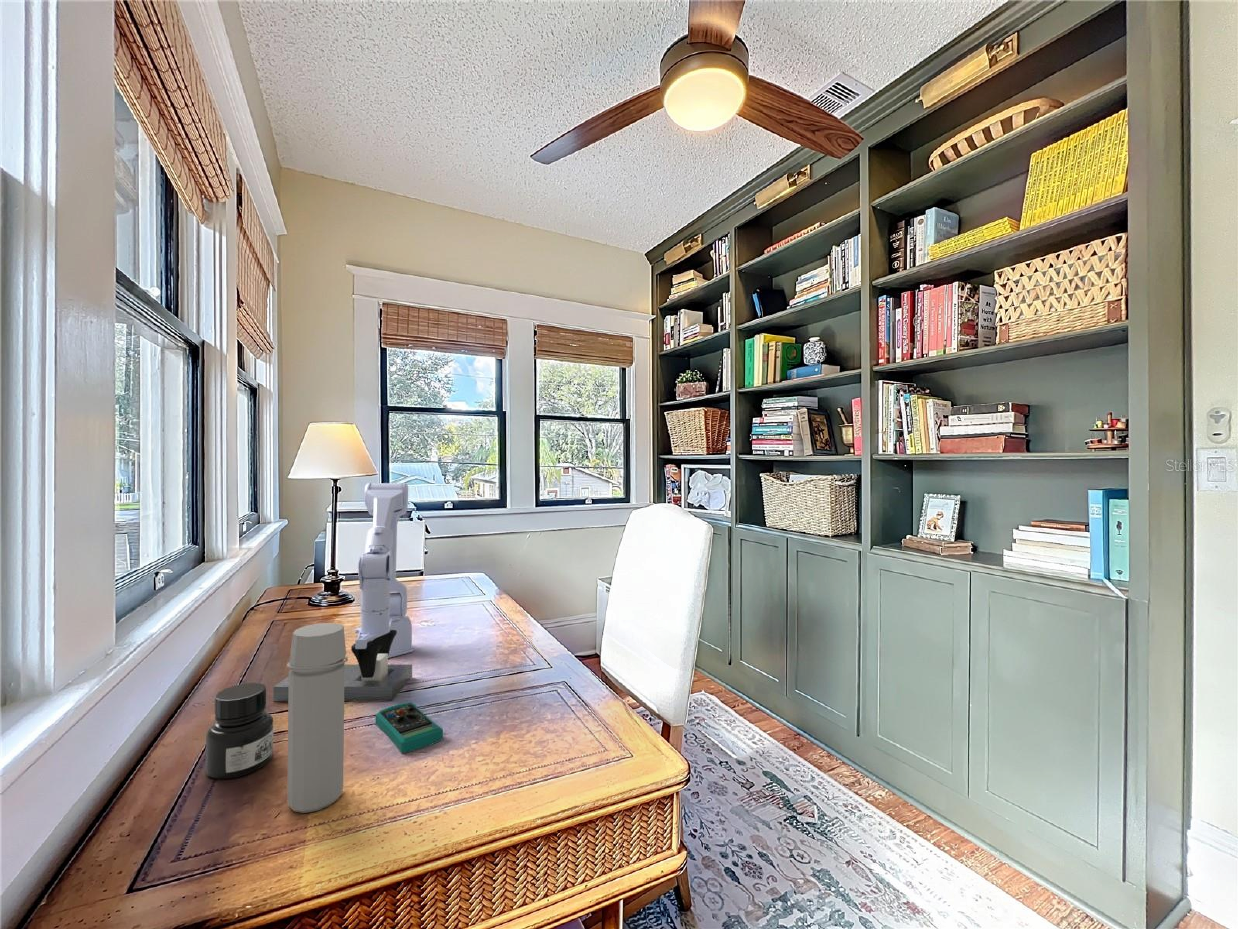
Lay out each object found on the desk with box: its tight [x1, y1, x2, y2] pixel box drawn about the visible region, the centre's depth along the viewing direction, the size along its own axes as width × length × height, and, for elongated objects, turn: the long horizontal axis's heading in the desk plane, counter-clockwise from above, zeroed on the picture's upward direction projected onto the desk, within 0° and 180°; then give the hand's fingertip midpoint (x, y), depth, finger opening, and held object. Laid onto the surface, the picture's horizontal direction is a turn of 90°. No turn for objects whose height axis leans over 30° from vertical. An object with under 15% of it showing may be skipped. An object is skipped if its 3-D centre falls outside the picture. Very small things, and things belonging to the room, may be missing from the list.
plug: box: [361, 654, 389, 681], centre depth 116 cm, size 5×4×7 cm
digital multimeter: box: [375, 702, 444, 754], centre depth 98 cm, size 7×15×3 cm, turn 42°
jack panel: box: [273, 663, 413, 702], centre depth 116 cm, size 24×12×3 cm, turn 92°
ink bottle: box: [205, 682, 274, 780], centre depth 87 cm, size 10×9×12 cm
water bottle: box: [286, 622, 349, 814], centre depth 79 cm, size 9×8×25 cm
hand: (374, 670), depth 116 cm, fingers open, 6 cm apart
